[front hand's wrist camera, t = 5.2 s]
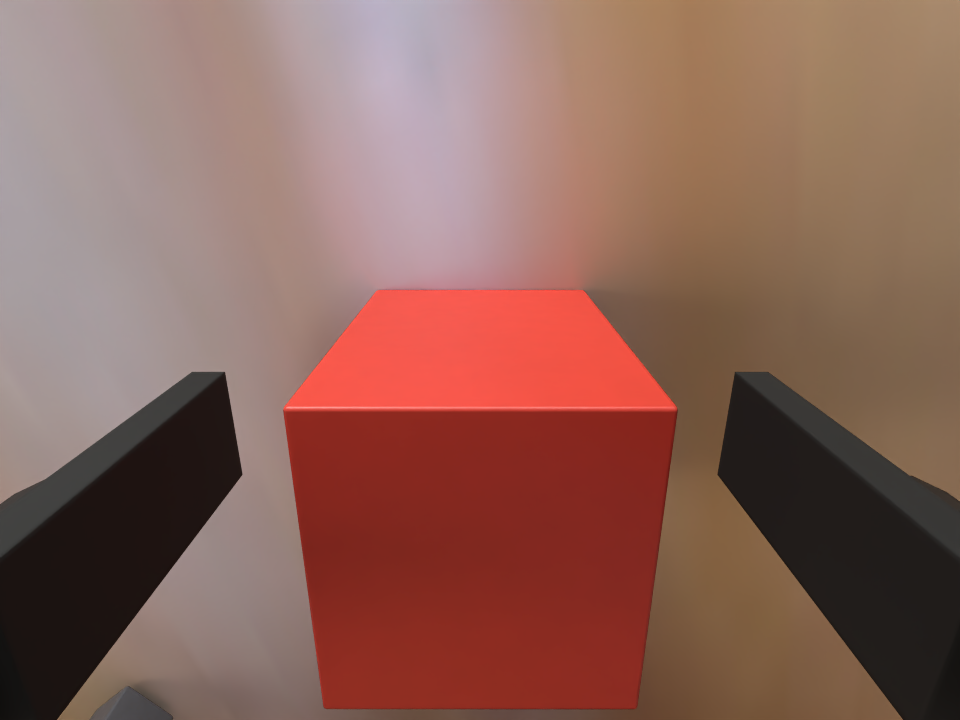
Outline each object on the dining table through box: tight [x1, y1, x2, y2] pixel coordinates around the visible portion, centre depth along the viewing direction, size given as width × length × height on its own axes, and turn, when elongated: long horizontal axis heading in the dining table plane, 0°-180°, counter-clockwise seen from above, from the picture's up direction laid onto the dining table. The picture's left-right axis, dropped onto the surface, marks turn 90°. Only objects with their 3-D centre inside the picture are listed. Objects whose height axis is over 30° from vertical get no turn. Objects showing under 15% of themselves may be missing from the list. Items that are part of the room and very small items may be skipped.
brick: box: [283, 290, 678, 709], centre depth 12 cm, size 6×5×7 cm
